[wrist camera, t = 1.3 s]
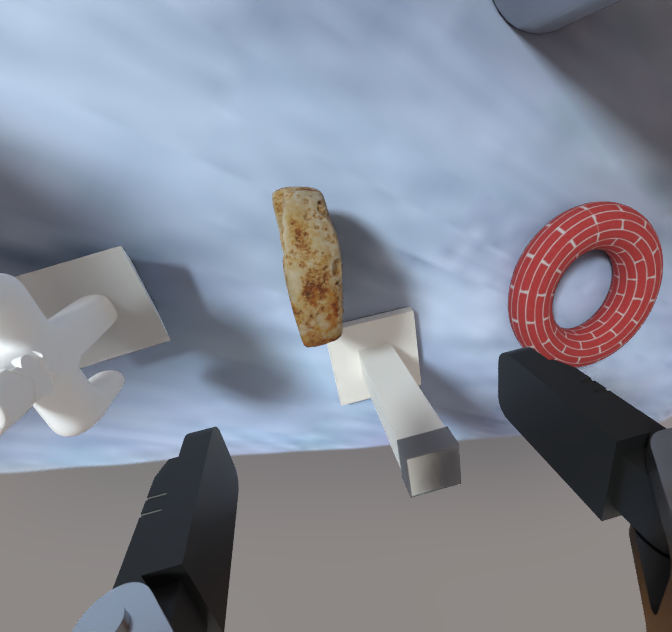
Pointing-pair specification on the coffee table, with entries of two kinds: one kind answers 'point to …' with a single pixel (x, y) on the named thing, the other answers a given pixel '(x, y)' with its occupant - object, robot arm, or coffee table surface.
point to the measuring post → (396, 396)
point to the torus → (624, 294)
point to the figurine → (71, 338)
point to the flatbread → (311, 263)
